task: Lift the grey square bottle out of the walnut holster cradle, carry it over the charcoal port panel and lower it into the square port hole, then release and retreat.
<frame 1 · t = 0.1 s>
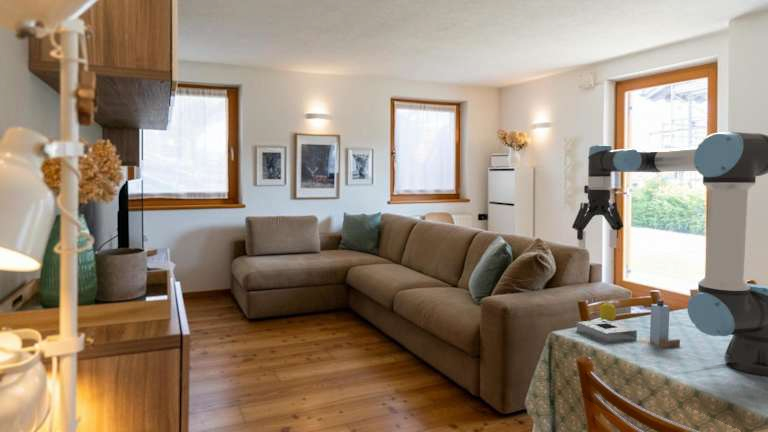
hand: (597, 248, 185), 28 cm above the table, fingers open, 13 cm apart
port panel: (605, 337, 171), on the table
holster: (658, 345, 163), on the table
grey square bottle: (658, 342, 163), point 1 cm above the table, touching holster
lemon: (607, 324, 188), on the table
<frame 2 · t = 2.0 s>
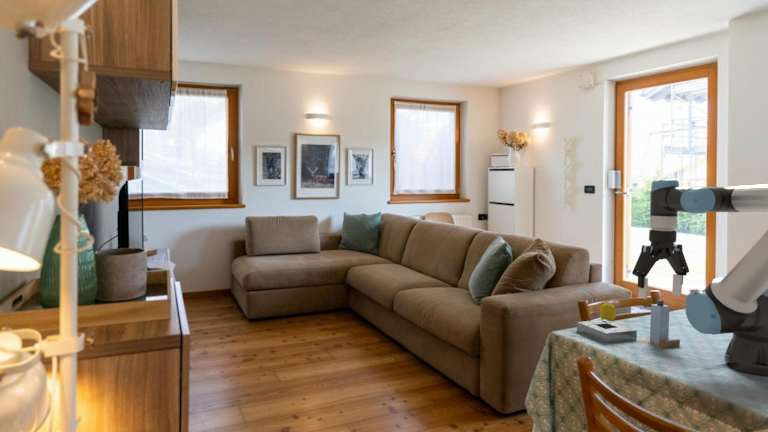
hand: (659, 296, 162), 16 cm above the table, fingers open, 13 cm apart
nothing on the table moved.
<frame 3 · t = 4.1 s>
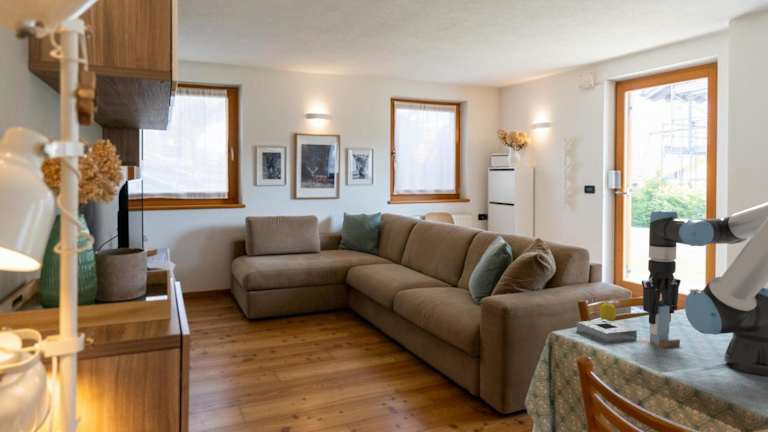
hand: (659, 333, 162), 4 cm above the table, fingers closed on grey square bottle, 4 cm apart
grey square bottle: (658, 342, 163), point 1 cm above the table, touching gripper, holster
everything else where it was.
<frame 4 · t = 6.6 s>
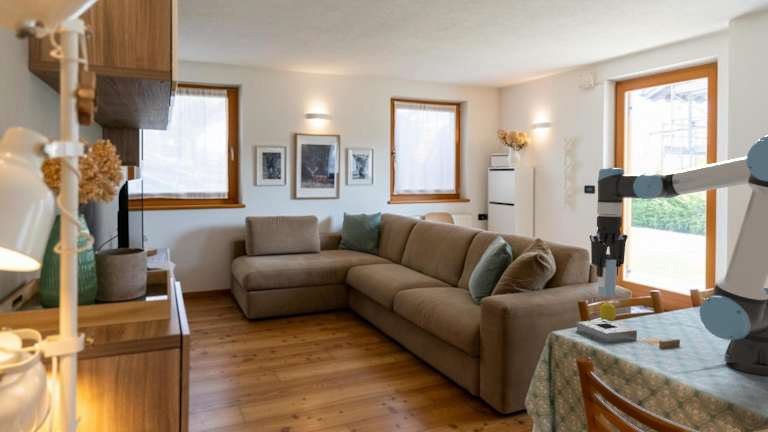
hand: (606, 285, 170), 17 cm above the table, fingers closed on grey square bottle, 4 cm apart
grey square bottle: (606, 295, 170), point 14 cm above the table, touching gripper
everything else where it was.
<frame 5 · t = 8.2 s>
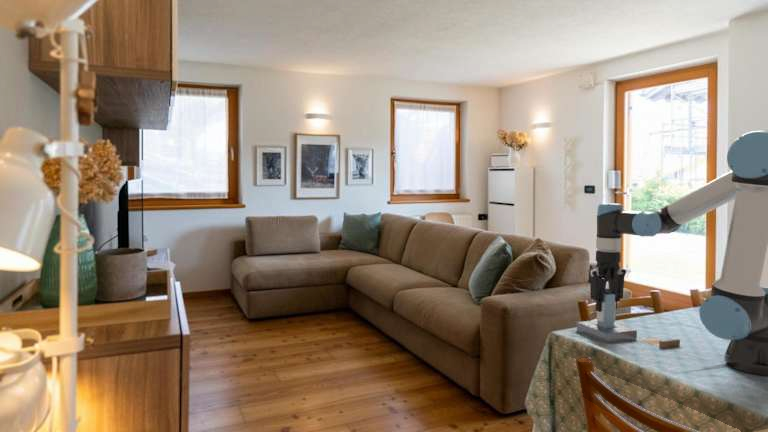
hand: (605, 320, 171), 6 cm above the table, fingers closed on grey square bottle, 4 cm apart
grey square bottle: (605, 329, 171), point 3 cm above the table, touching gripper
everything else where it was.
when the fingers open (5 cm above the table, at t = 9.2 s): grey square bottle drops 2 cm, resting on port panel.
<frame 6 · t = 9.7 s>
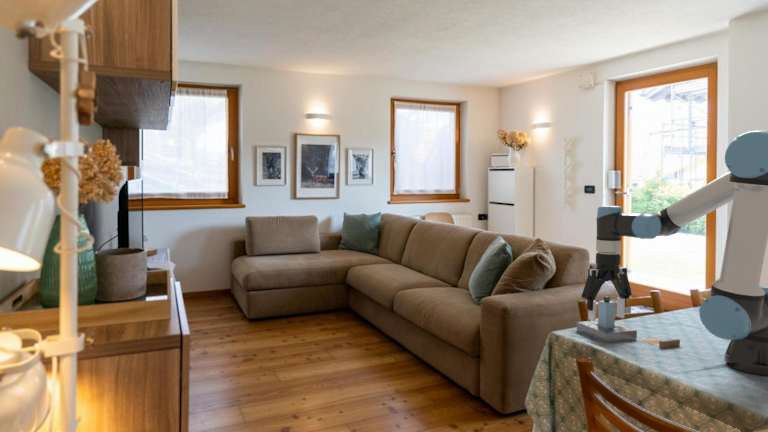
hand: (606, 318, 171), 6 cm above the table, fingers open, 11 cm apart
grey square bottle: (605, 337, 171), resting on port panel
everything else where it was.
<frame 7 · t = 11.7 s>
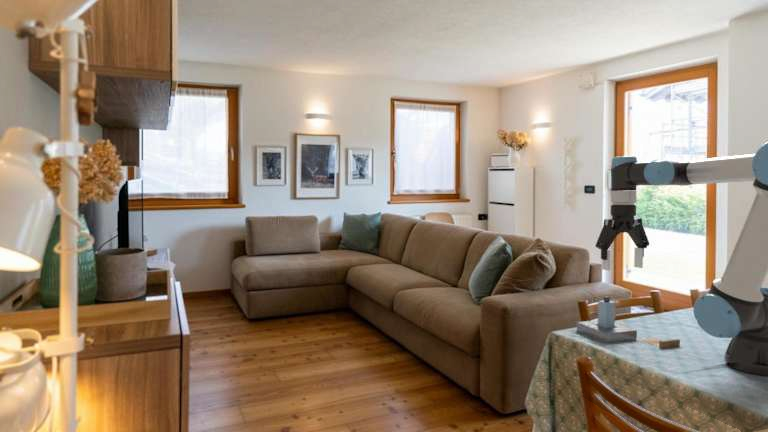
hand: (622, 268, 169), 23 cm above the table, fingers open, 13 cm apart
nothing on the table moved.
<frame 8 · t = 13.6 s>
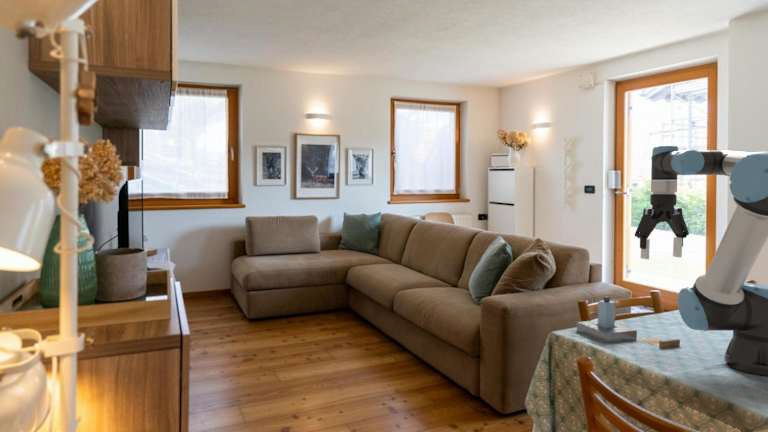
hand: (661, 257, 170), 27 cm above the table, fingers open, 13 cm apart
nothing on the table moved.
at the end: grey square bottle 0.0 cm off-centre on the port panel, point 0.2 cm above the port panel's base; grey square bottle tilted 0°; the gripper is holding nothing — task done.
